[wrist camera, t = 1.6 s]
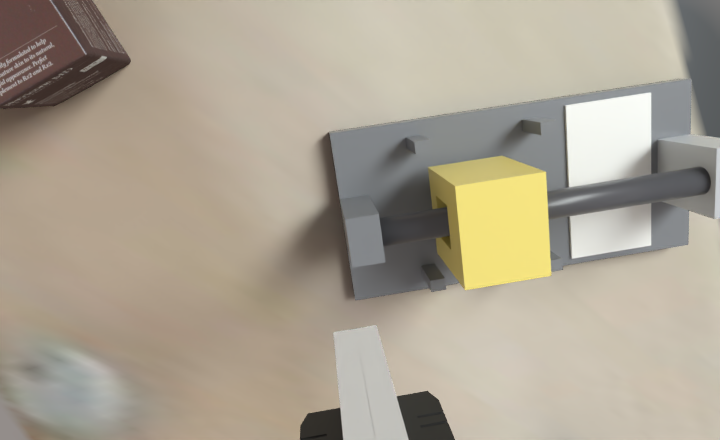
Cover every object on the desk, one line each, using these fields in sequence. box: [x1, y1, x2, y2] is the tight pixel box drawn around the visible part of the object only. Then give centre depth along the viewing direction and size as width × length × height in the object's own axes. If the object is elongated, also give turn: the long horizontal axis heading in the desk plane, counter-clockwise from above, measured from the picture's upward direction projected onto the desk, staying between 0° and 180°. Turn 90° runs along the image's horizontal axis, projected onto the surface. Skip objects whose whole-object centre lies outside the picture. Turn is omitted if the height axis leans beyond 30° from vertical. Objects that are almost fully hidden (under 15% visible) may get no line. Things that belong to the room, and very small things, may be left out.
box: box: [0, 0, 131, 109], centre depth 30 cm, size 6×6×7 cm
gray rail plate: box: [329, 79, 720, 300], centre depth 35 cm, size 12×25×7 cm, turn 98°
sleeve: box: [428, 156, 551, 290], centre depth 32 cm, size 6×5×7 cm
